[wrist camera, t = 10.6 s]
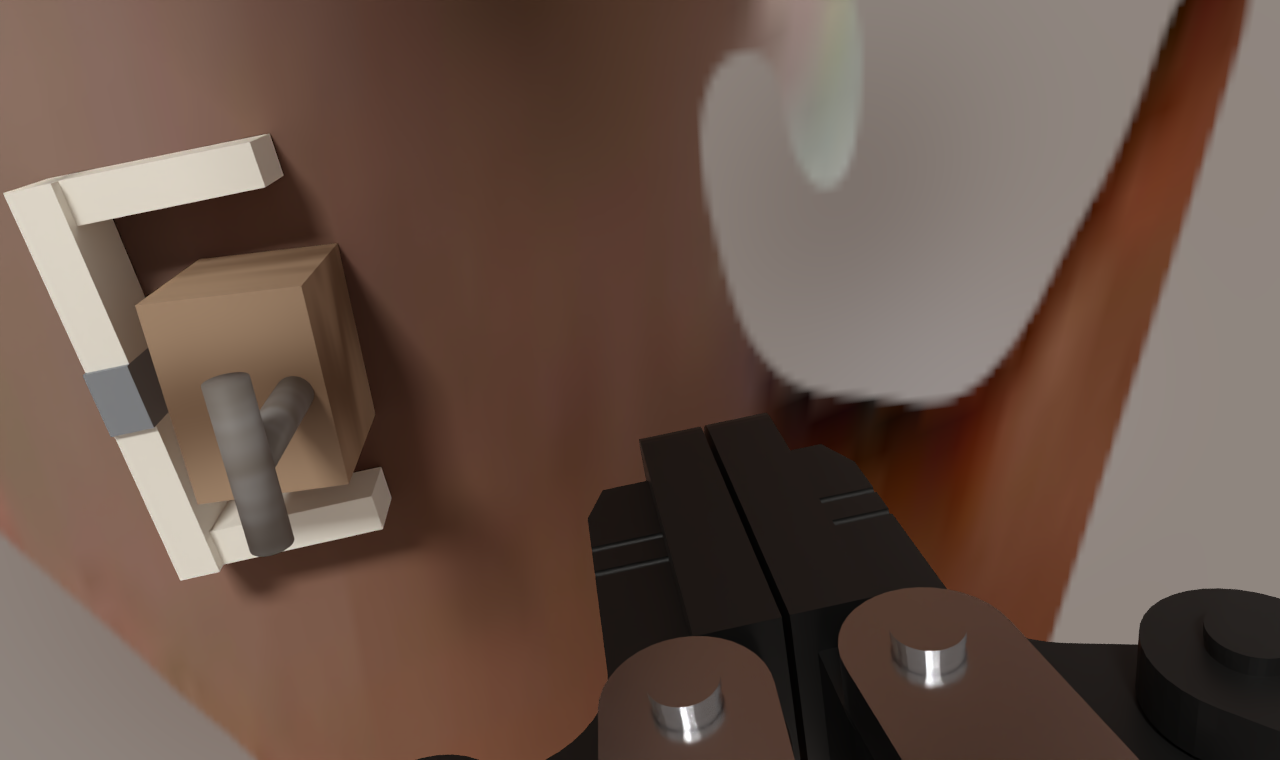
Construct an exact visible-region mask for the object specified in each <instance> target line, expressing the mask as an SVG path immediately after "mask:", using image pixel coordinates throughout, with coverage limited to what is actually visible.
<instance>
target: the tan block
mask: <svg viewBox="0 0 1280 760" xmlns="http://www.w3.org/2000/svg"><path fill="white" fill-rule="evenodd" d="M135 307H136V310H137V313H138V317H139V320H140V323H141V326H142V329H143V332H144V336H145V339H146V342H147V345H148V348H149V351H150V355H151V358H152V361H153V364H154V367H155V371H156V374H157V377H158V380H159V383H160V386H161V390H162V393H163V396H164V399H165V402H166V405H167V409H168V412H169V415H170V418H171V421H172V425H173V428H174V431H175V434H176V437H177V440H178V444H179V447H180V450H181V453H182V456H183V459H184V463H185V466H186V469H187V472H188V475H189V479H190V482H191V485H192V488H193V491H194V494H195V498H196V501H197V504H206V503H213V502H220V501H228V500H235V504H236V507H237V510H238V514H239V517H240V520H241V524H242V527H243V531H244V534H245V537H246V541H247V544H248V547H249V551H250V553H251V554H252V555H254V556H258V557H265V556H271V555H275V554H277V553H280V552H282V551H284V550H286V549H287V548H289V547H290V546H291V545H292V544H293V542H294V535H293V531H292V528H291V524H290V520H289V517H288V513H287V509H286V506H285V502H284V498H283V495H282V493H287V492H294V491H302V490H309V489H316V488H324V487H331V486H339V485H346V484H349V482H350V480H351V477H352V475H353V472H354V469H355V467H356V464H357V461H358V459H359V456H360V453H361V451H362V448H363V446H364V443H365V440H366V438H367V435H368V432H369V430H370V427H371V425H372V422H373V419H374V417H375V410H374V406H373V401H372V397H371V392H370V387H369V383H368V378H367V374H366V369H365V365H364V360H363V356H362V351H361V347H360V342H359V338H358V333H357V329H356V324H355V320H354V315H353V310H352V306H351V301H350V297H349V292H348V288H347V283H346V279H345V274H344V270H343V265H342V261H341V256H340V252H339V247H338V243H334V244H325V245H316V246H308V247H299V248H290V249H282V250H273V251H264V252H255V253H247V254H238V255H229V256H221V257H212V258H203V259H199V260H197V261H196V262H194V263H193V264H192V265H190V266H189V267H188V268H186V269H185V270H183V271H182V272H181V273H179V274H178V275H177V276H175V277H174V278H172V279H171V280H170V281H168V282H167V283H165V284H164V285H163V286H161V287H160V288H159V289H157V290H156V291H154V292H153V293H152V294H150V295H149V296H147V297H146V298H145V299H143V300H142V301H141V302H139V303H138V304H136V305H135Z"/></svg>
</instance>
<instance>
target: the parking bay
mask: <svg viewBox="0 0 1280 760" xmlns="http://www.w3.org/2000/svg"><path fill="white" fill-rule="evenodd" d="M282 176H284V175H283V172H282V169H281V166H280V163H279V160H278V157H277V154H276V151H275V148H274V145H273V142H272V139H271V136H270V133H269V134H264V135H259V136H255V137H250V138H245V139H240V140H235V141H230V142H225V143H220V144H215V145H210V146H205V147H200V148H195V149H191V150H186V151H181V152H176V153H171V154H166V155H161V156H156V157H151V158H146V159H141V160H136V161H132V162H127V163H122V164H117V165H112V166H107V167H102V168H97V169H92V170H87V171H82V172H77V173H72V174H68V175H63V176H58V177H53V178H48V179H45V180H42V181H39V182H36V183H33V184H30V185H27V186H24V187H21V188H18V189H15V190H11V191H8V192H5V193H3V194H4V196H5V198H6V201H7V203H8V205H9V207H10V209H11V211H12V214H13V216H14V218H15V220H16V222H17V225H18V227H19V229H20V231H21V233H22V235H23V238H24V240H25V242H26V244H27V246H28V249H29V251H30V253H31V255H32V257H33V260H34V262H35V264H36V266H37V268H38V270H39V273H40V275H41V277H42V279H43V281H44V284H45V286H46V288H47V290H48V292H49V294H50V297H51V299H52V301H53V303H54V305H55V308H56V310H57V312H58V314H59V316H60V319H61V321H62V323H63V325H64V327H65V329H66V332H67V334H68V336H69V338H70V340H71V343H72V345H73V347H74V349H75V351H76V353H77V356H78V358H79V360H80V362H81V364H82V367H83V369H84V371H85V374H84V375H83V377H84V379H85V382H86V384H87V386H88V388H89V390H90V393H91V395H92V397H93V399H94V401H95V403H96V406H97V408H98V410H99V412H100V414H101V416H102V419H103V421H104V423H105V425H106V427H107V430H108V432H109V434H110V436H111V437H115V439H116V441H117V443H118V445H119V447H120V450H121V452H122V454H123V456H124V458H125V461H126V463H127V465H128V467H129V469H130V471H131V474H132V476H133V478H134V480H135V482H136V485H137V487H138V489H139V491H140V493H141V496H142V498H143V500H144V502H145V504H146V506H147V509H148V511H149V513H150V515H151V517H152V520H153V522H154V524H155V526H156V528H157V530H158V533H159V535H160V537H161V539H162V541H163V544H164V546H165V548H166V550H167V552H168V555H169V557H170V559H171V561H172V563H173V565H174V568H175V570H176V572H177V574H178V576H179V579H180V581H181V580H185V579H190V578H194V577H199V576H203V575H208V574H212V573H217V572H220V570H221V568H222V567H223V565H224V564H229V563H233V562H238V561H242V560H247V559H251V558H256V557H258V556H254V555H252V554H251V553H250V551H249V547H248V544H247V541H246V537H245V534H244V531H243V527H242V524H241V520H240V517H239V514H238V510H237V507H236V504H235V500H228V501H220V502H213V503H206V504H197V501H196V498H195V494H194V491H193V488H192V485H191V482H190V479H189V475H188V472H187V469H186V466H185V463H184V459H183V456H182V453H181V450H180V447H179V444H178V440H177V437H176V434H175V431H174V428H173V425H172V421H171V418H170V415H169V412H168V409H167V405H166V402H165V399H164V396H163V393H162V390H161V386H160V383H159V380H158V377H157V374H156V371H155V367H154V364H153V361H152V358H151V355H150V351H149V348H148V345H147V342H146V339H145V336H144V332H143V329H142V326H141V323H140V320H139V317H138V313H137V310H136V307H135V305H136V304H138V303H139V302H141V301H142V300H143V299H145V296H144V293H143V291H142V289H141V286H140V284H139V281H138V279H137V277H136V274H135V272H134V269H133V267H132V264H131V262H130V260H129V257H128V255H127V252H126V250H125V248H124V245H123V243H122V240H121V238H120V236H119V233H118V231H117V228H116V226H115V224H114V221H113V219H114V218H119V217H124V216H129V215H133V214H138V213H143V212H148V211H153V210H158V209H163V208H167V207H172V206H177V205H182V204H187V203H192V202H197V201H201V200H206V199H211V198H216V197H221V196H226V195H231V194H236V193H240V192H245V191H250V190H255V189H260V188H265V187H267V186H268V185H270V184H271V183H273V182H275V181H276V180H278V179H279V178H281V177H282ZM282 495H283V498H284V502H285V506H286V509H287V513H288V517H289V520H290V524H291V528H292V531H293V535H294V542H293V544H292V545H291V546H290V547H289V548H287V549H286V550H284V551H287V550H292V549H296V548H300V547H305V546H309V545H314V544H318V543H323V542H327V541H332V540H336V539H341V538H345V537H350V536H354V535H359V534H363V533H368V532H372V531H377V530H381V529H383V527H384V524H385V520H386V517H387V513H388V509H389V506H390V502H391V499H392V497H391V494H390V492H389V489H388V486H387V483H386V480H385V477H384V474H383V471H382V468H381V467H377V468H373V469H368V470H364V471H359V472H355V473H353V475H352V477H351V480H350V482H349V484H346V485H339V486H331V487H324V488H316V489H309V490H302V491H294V492H287V493H282ZM282 552H283V551H282Z"/></svg>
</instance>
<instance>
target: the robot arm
mask: <svg viewBox="0 0 1280 760" xmlns="http://www.w3.org/2000/svg"><path fill="white" fill-rule="evenodd" d="M639 443H640V449H641V455H642V460H643V466H644V471H645V476H646V481H645V482H640V483H635V484H631V485H626V486H621V487H616V488H612V489H607V490H603V491H602V493H601V495H600V497H599V499H598V500H597V502H596V504H595V506H594V508H593V510H592V512H591V513H590V515H589V517H588V524H589V532H590V540H591V547H592V552H593V553H592V555H593V563H594V570H595V576H596V586H597V594H598V601H599V609H600V617H601V625H602V632H603V640H604V648H605V655H606V663H607V671H608V681H607V682H606V684H605V686H604V688H603V690H602V693H601V696H600V699H599V706H598V713H597V715H596V716H595V718H594V720H593V721H592V722H591V723H590V724H589V726H588V727H587V728H586V729H585V731H584V732H583V733H581V734H580V735H579V736H578V737H577V738H576V739H575V740H574V741H573V742H572V743H570V744H569V745H568V746H566V747H565V748H564V749H562V750H561V751H560V752H558V753H556V754H555V755H553V756H551V757H550V758H548V759H546V760H1280V599H1279V598H1276V597H1272V596H1268V595H1264V594H1260V593H1255V592H1249V591H1243V590H1233V589H1199V590H1191V591H1185V592H1182V593H1178V594H1174V595H1172V596H1169V597H1167V598H1165V599H1162V600H1160V601H1159V602H1157V603H1156V604H1155V605H1153V606H1152V607H1151V608H1150V609H1149V610H1148V611H1147V613H1145V615H1144V616H1143V619H1142V621H1141V623H1140V629H1139V641H1138V645H1125V644H1078V643H1077V644H1076V643H1055V642H1045V641H1039V640H1032V639H1028V638H1026V637H1025V636H1024V635H1023V634H1022V633H1021V632H1020V631H1019V630H1018V629H1017V628H1016V626H1015V625H1014V624H1013V623H1012V622H1011V621H1010V620H1009V619H1008V618H1007V617H1006V616H1005V615H1003V614H1002V613H1001V612H1000V611H999V610H997V609H996V608H994V607H993V606H991V605H990V604H988V603H986V602H984V601H982V600H980V599H978V598H976V597H973V596H970V595H967V594H964V593H961V592H957V591H952V590H948V589H946V587H945V586H944V585H943V583H942V582H941V580H940V579H939V578H938V576H937V575H936V574H935V572H934V571H933V569H932V568H931V567H930V565H929V564H928V563H927V561H926V560H925V558H924V557H923V556H922V554H921V553H920V552H919V550H918V549H917V547H916V546H915V545H914V543H913V542H912V540H911V539H910V538H909V536H908V535H907V534H906V532H905V531H904V529H903V528H902V527H901V525H900V524H899V523H898V521H897V520H896V518H895V517H894V516H893V514H889V511H888V507H887V506H886V505H885V503H884V502H883V501H882V499H881V498H880V496H879V495H878V494H877V492H874V491H873V487H872V485H871V484H870V483H869V481H868V480H867V478H866V477H865V476H864V474H863V473H862V472H861V470H860V469H859V467H858V466H857V465H856V463H855V462H854V461H852V460H850V459H848V458H846V457H844V456H842V455H841V454H839V453H837V452H835V451H833V450H831V449H829V448H827V447H825V446H824V445H822V444H820V445H815V446H810V447H805V448H801V449H796V450H791V451H790V449H789V448H788V446H787V444H786V443H785V441H784V439H783V438H782V436H781V434H780V433H779V431H778V429H777V428H776V426H775V424H774V423H773V421H772V419H771V418H770V416H769V415H768V414H767V413H763V414H758V415H753V416H748V417H743V418H738V419H734V420H729V421H724V422H719V423H714V424H710V425H705V427H704V433H703V430H702V428H701V427H696V428H691V429H687V430H682V431H677V432H672V433H667V434H663V435H658V436H653V437H648V438H643V439H639ZM417 760H477V759H474V758H471V757H467V756H460V755H436V756H431V757H425V758H420V759H417Z"/></svg>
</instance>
